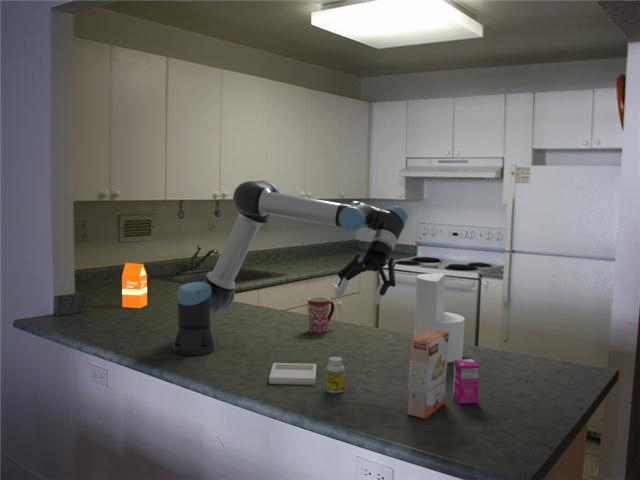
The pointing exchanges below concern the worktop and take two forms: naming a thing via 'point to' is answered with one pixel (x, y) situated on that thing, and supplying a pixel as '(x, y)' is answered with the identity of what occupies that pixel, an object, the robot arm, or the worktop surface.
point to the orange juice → (134, 286)
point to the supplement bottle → (335, 375)
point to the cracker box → (427, 373)
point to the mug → (319, 314)
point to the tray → (293, 374)
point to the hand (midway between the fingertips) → (356, 299)
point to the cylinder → (437, 313)
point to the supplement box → (466, 382)
